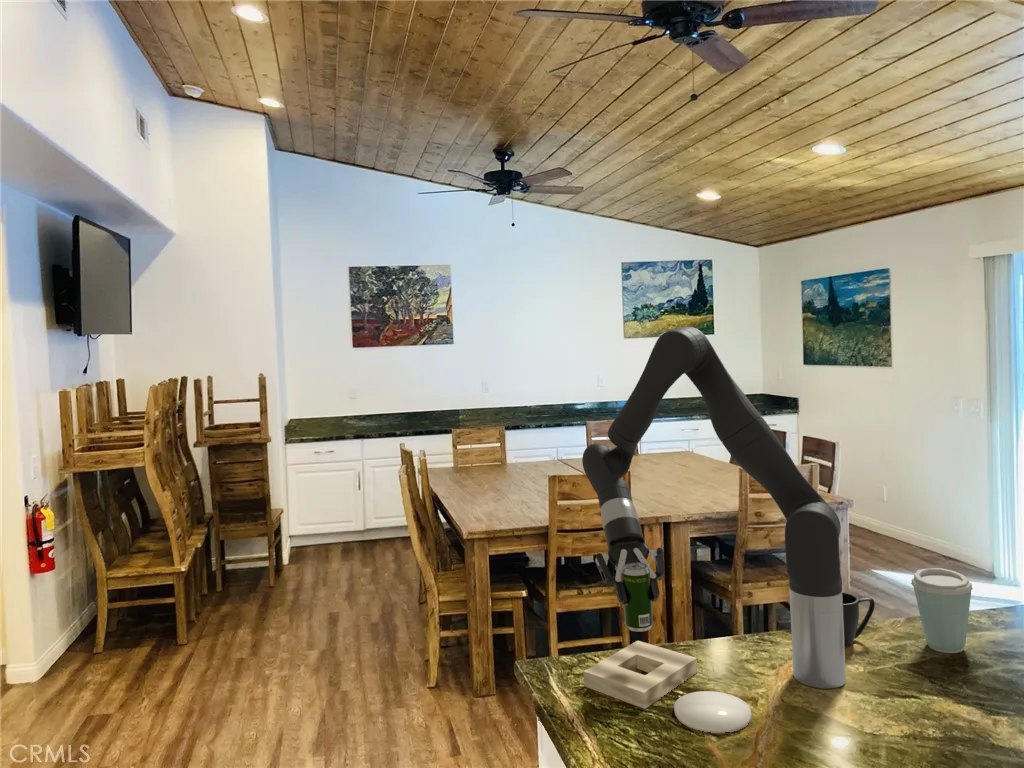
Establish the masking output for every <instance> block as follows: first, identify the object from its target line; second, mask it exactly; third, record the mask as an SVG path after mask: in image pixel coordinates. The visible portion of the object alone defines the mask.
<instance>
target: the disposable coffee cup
mask: <svg viewBox="0 0 1024 768" xmlns="http://www.w3.org/2000/svg"><path fill="white" fill-rule="evenodd" d="M910 584H911V585H912V587H913V590H914V591H913V592H914V595H915V600H916V602H917V603H916V604H917V607H918V612H919V616H920V622H921V626H922V629H923V635H924V638H925V642H926V643H927V646H928V647H929V649H931V650H933V651H936V652H938V653H944V654H958V653H962V651H963V650H964V648H965V646H966V641H967V633H968V624H969V615H970V607H971V606H970V604H971V598H972V597H971V596H972V590H973V589H974V588H973V584H972V582H971V581H970V580H969V579H968V578H967V577H966V576H965V575H964V574H962V573H959V572H957V571H955V570H951V569H946V568H942V567H929V568H922V569H917V570H916V572H915V573H914V574H913V577H912V579H911V583H910Z"/></svg>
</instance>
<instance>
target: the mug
mask: <svg viewBox="0 0 1024 768" xmlns="http://www.w3.org/2000/svg"><path fill="white" fill-rule="evenodd" d="M842 599H843V621H844V646H845V648H846V647H851V646H853V644H854V640H855V639H857V638H859V636H860V635H861V634H862V632H863V631H864V629H865V628H866V627H867V624H868V622H869V621H870V619H871V617H872V615H873V613H874V610H875V606H876V605H875V600H874V599H873V598H871V597H869V596H867V597H866V596H864V597H859V598H858V597H857V596H855V595H854V594H851V593H847V592H844V591H842ZM866 601H867V602H868V601H869V606H868V609H867V611H866V614H865V615H864V617H863V620H862V622H861V623H860V624H859V619H860V603H863V602H866ZM858 625H859V626H858Z"/></svg>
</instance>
